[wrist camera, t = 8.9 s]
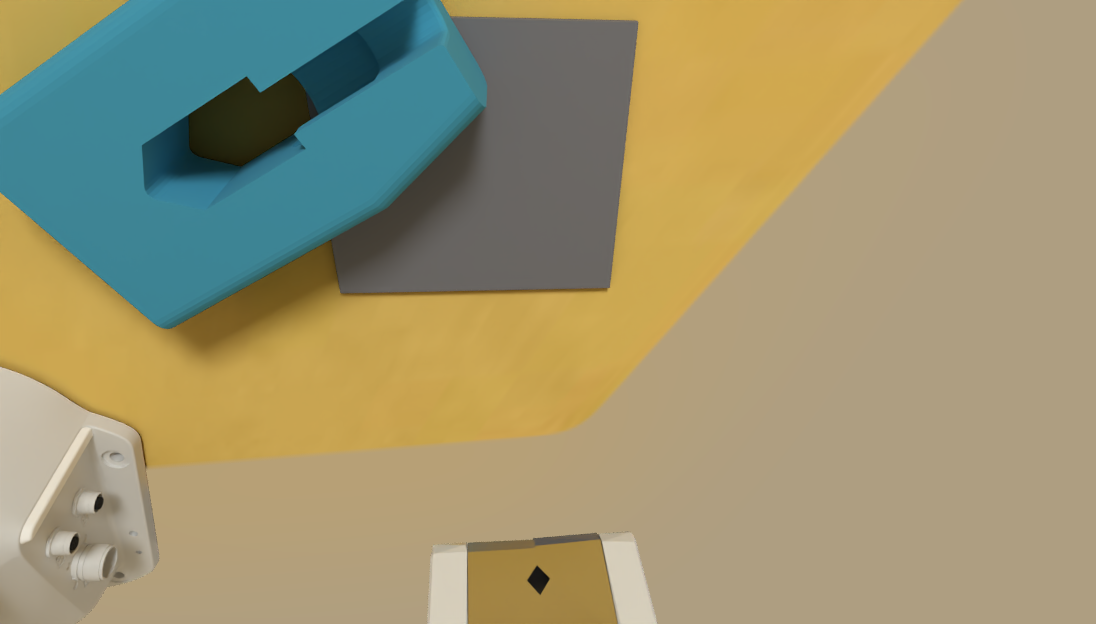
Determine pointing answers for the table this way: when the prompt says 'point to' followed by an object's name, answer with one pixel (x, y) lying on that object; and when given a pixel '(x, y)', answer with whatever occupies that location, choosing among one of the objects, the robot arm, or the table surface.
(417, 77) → the block
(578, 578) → the robot arm
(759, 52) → the table surface
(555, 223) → the mat
